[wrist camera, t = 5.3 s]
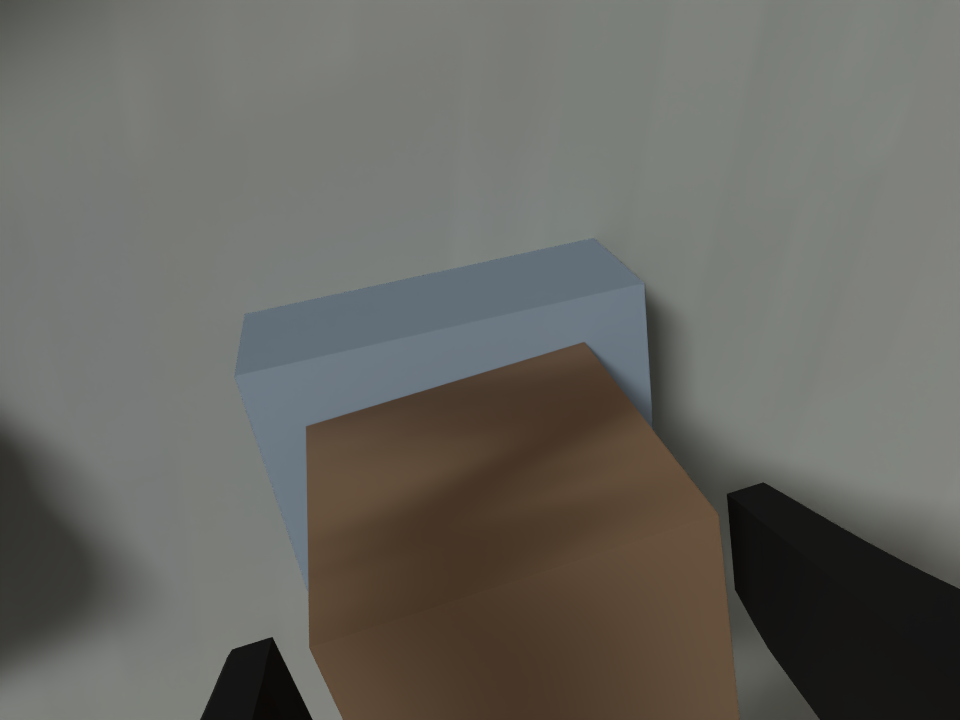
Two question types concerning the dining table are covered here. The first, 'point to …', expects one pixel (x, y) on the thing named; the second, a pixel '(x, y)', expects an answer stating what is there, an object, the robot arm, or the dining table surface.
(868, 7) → the dining table surface
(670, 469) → the walnut block
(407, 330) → the blue slab
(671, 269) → the dining table surface
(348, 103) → the dining table surface
